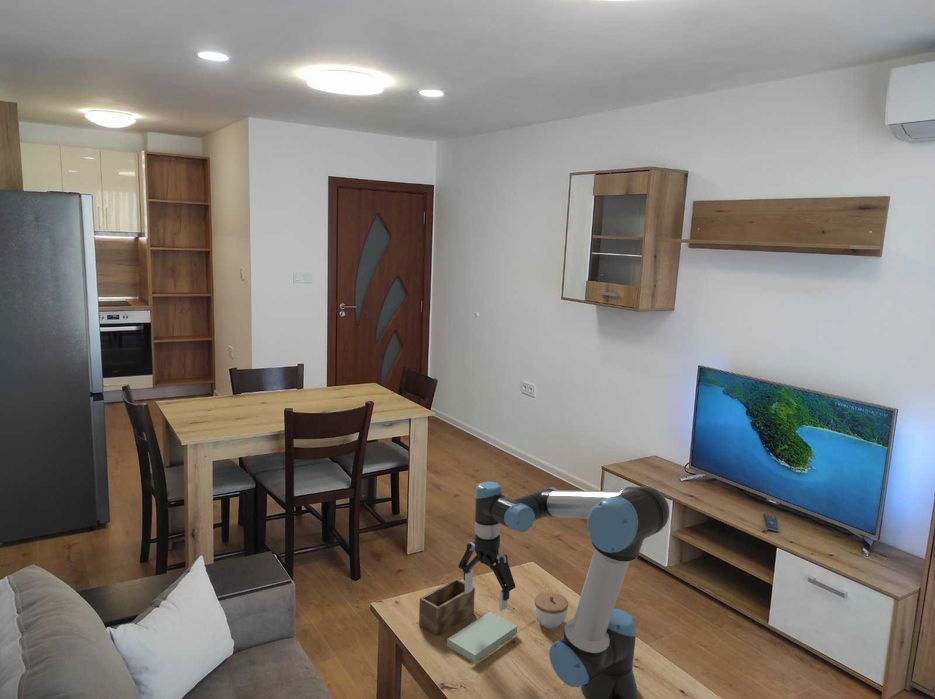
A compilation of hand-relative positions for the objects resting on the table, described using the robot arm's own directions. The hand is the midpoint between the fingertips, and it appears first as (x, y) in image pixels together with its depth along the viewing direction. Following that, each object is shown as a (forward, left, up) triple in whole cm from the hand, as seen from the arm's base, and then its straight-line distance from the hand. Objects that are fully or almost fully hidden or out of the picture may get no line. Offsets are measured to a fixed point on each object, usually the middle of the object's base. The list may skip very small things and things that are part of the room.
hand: (485, 600), depth 202 cm
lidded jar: (-9, -23, -14) cm, 28 cm away
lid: (0, 0, -13) cm, 13 cm away
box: (+15, 0, -14) cm, 21 cm away
